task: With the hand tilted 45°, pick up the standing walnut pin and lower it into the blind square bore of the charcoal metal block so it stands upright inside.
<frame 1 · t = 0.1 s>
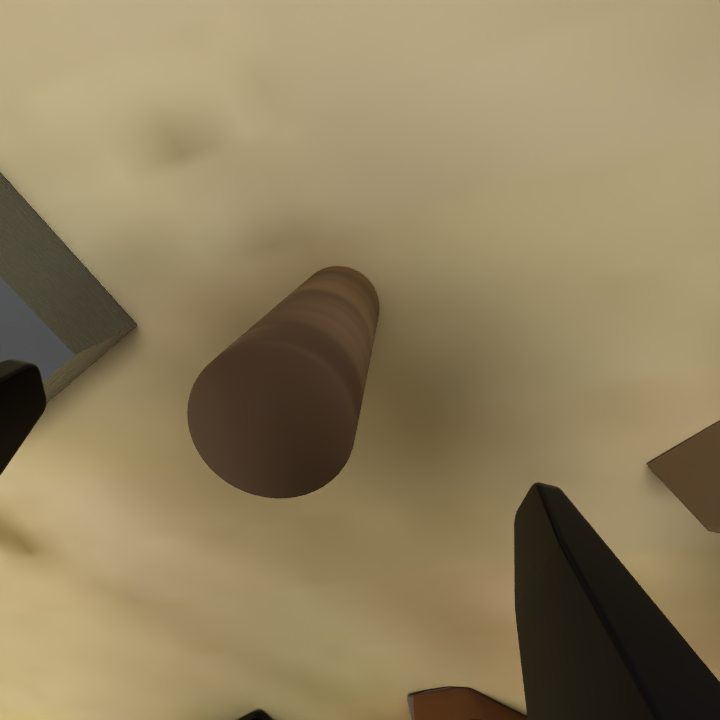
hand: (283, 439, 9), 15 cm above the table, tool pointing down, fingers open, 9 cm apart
bore block: (5, 305, 25), on the table
walnut pin: (338, 307, 23), on the table
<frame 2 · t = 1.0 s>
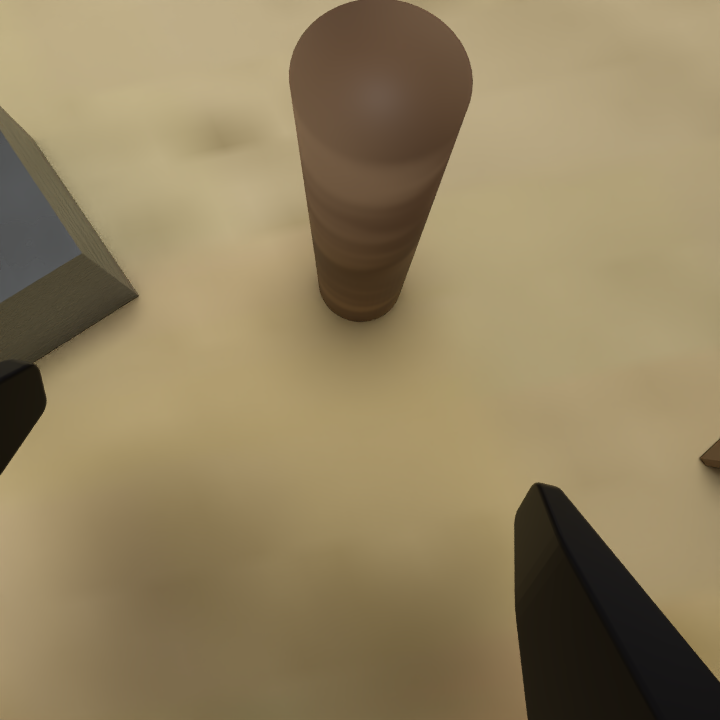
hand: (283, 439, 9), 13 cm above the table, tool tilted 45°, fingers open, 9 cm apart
walnut pin: (360, 281, 23), on the table
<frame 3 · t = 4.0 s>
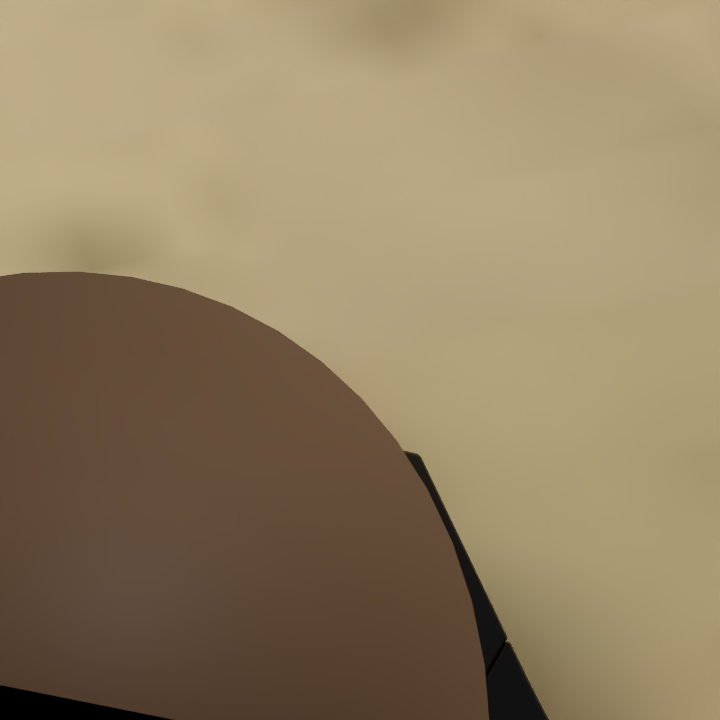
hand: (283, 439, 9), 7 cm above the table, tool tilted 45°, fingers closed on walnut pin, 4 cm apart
walnut pin: (297, 490, 15), on the table, touching gripper
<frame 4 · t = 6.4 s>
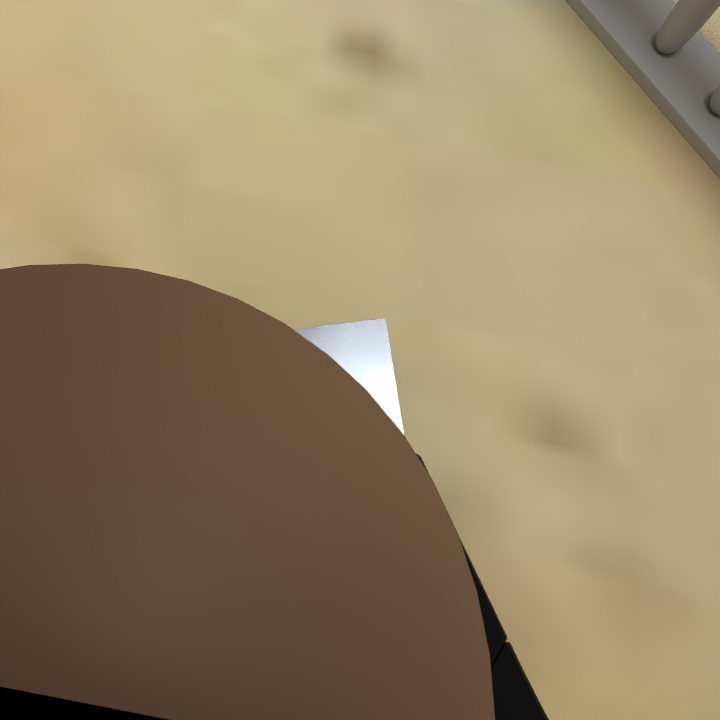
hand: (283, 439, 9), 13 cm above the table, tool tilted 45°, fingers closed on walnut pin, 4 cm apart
bore block: (283, 468, 22), on the table
test tube rack: (654, 59, 27), on the table
walnut pin: (298, 488, 15), point 7 cm above the table, touching gripper
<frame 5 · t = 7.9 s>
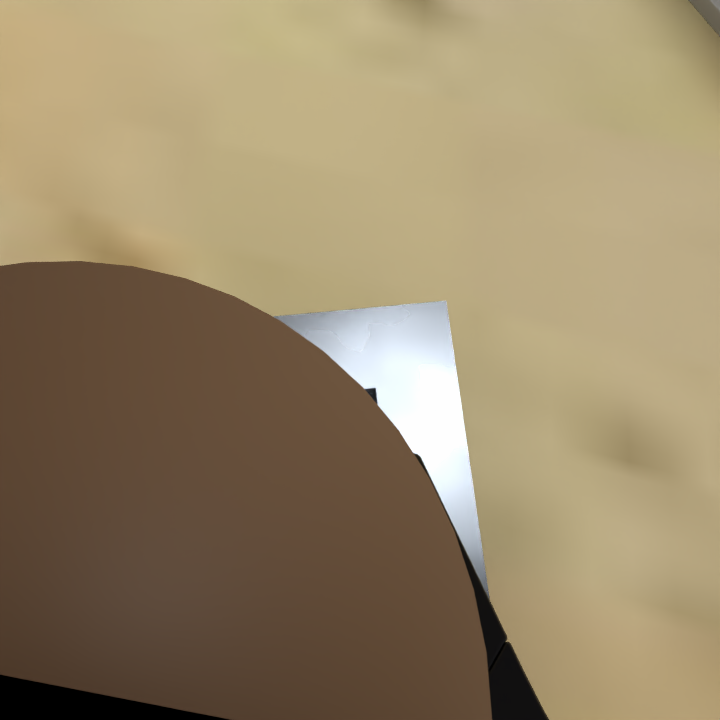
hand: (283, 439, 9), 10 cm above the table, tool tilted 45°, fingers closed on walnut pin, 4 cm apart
bore block: (306, 479, 18), on the table
walnut pin: (297, 488, 15), point 3 cm above the table, touching gripper
when the fingers open (8 cm above the table, at t = 9.2 s): walnut pin drops 1 cm, resting on bore block.
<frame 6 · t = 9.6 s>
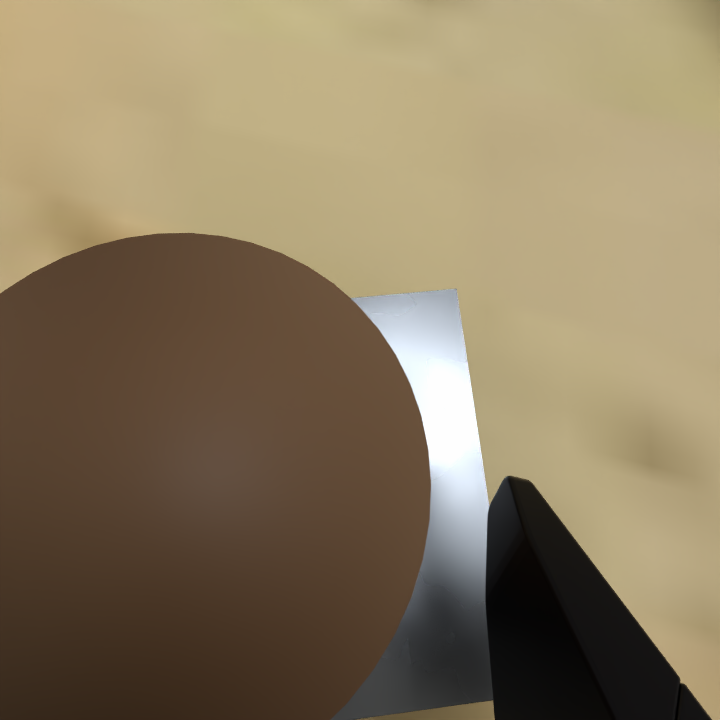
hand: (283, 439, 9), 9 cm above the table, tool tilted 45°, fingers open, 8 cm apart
bore block: (302, 485, 17), on the table
walnut pin: (301, 487, 16), point 1 cm above the table, touching bore block
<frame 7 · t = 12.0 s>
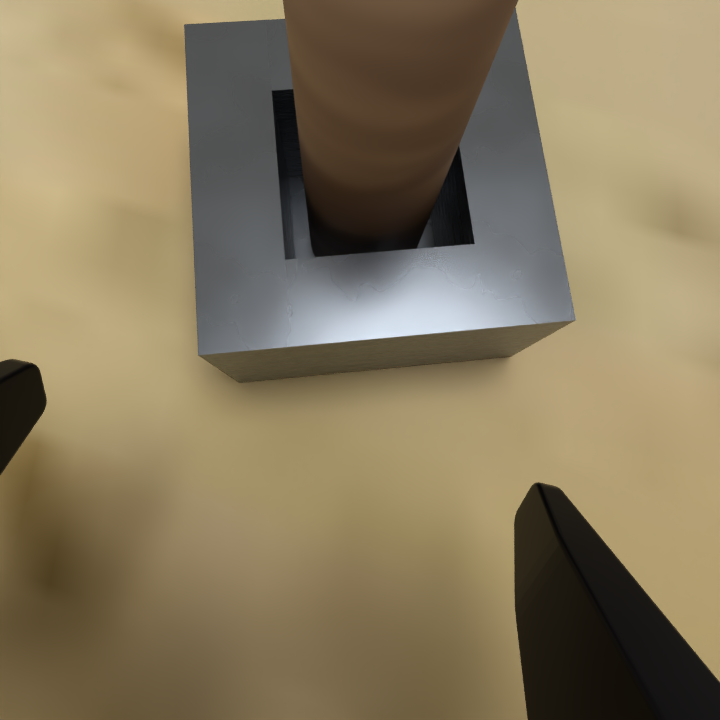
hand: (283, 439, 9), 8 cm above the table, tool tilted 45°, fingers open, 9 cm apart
bore block: (363, 241, 18), on the table
walnut pin: (363, 236, 18), point 1 cm above the table, touching bore block
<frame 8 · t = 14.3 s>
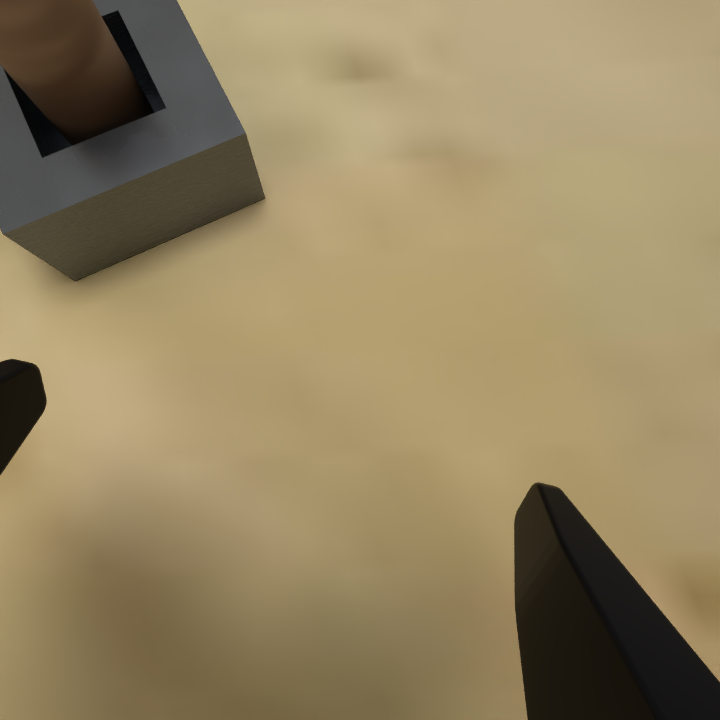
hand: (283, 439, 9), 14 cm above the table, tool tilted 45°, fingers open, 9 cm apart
bore block: (133, 156, 24), on the table
walnut pin: (129, 150, 24), point 1 cm above the table, touching bore block
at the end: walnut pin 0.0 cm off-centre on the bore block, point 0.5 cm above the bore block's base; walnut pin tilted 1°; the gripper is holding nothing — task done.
